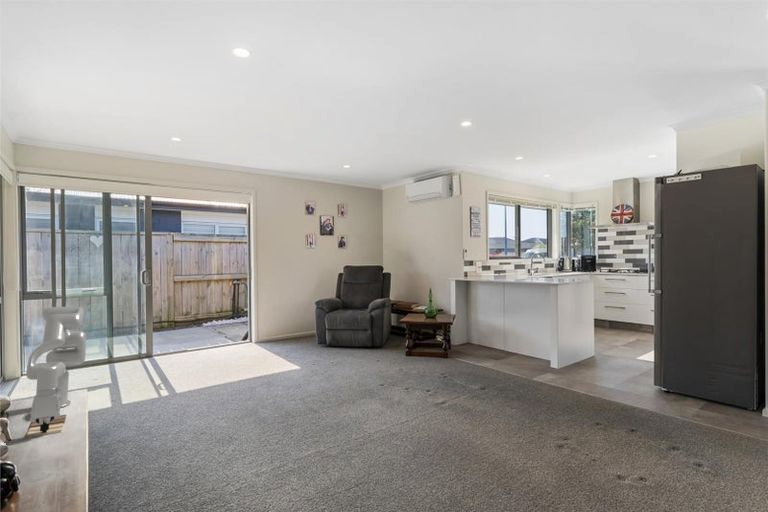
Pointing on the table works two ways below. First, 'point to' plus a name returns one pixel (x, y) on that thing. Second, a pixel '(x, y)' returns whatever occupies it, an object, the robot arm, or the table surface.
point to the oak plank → (52, 429)
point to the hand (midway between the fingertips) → (44, 432)
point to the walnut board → (54, 421)
